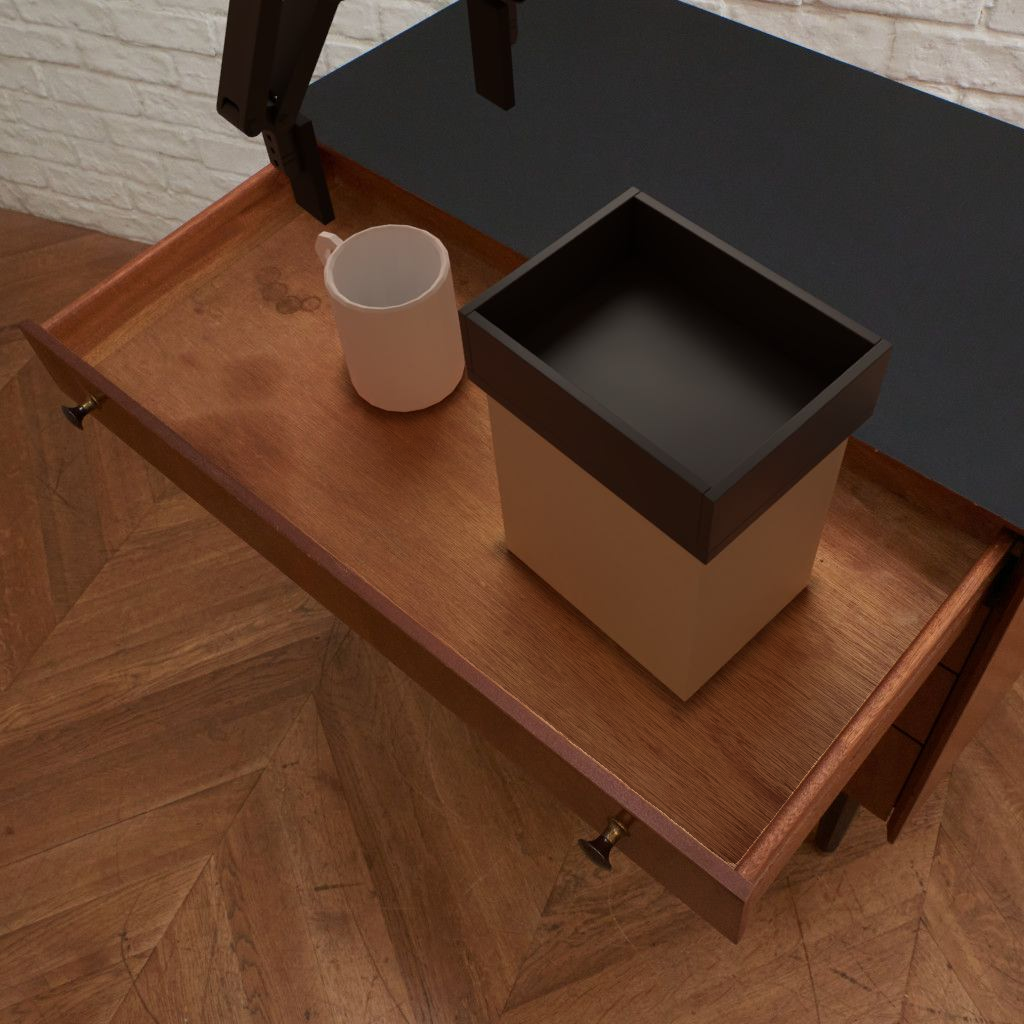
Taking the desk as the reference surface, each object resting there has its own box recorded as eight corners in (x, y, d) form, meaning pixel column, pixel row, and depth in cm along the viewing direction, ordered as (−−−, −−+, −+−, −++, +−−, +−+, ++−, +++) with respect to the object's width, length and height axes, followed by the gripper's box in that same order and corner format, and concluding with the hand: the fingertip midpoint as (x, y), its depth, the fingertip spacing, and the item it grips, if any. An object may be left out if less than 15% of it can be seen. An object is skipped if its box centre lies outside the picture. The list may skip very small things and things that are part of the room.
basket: (873, 415, 56) (894, 344, 52) (705, 566, 52) (714, 503, 48) (631, 258, 63) (633, 185, 59) (467, 379, 59) (456, 310, 55)
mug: (376, 286, 86) (353, 180, 78) (488, 365, 81) (475, 260, 73) (293, 345, 83) (260, 242, 75) (403, 431, 78) (380, 330, 70)
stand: (808, 584, 69) (855, 415, 56) (684, 702, 65) (704, 550, 52) (627, 448, 76) (631, 268, 63) (506, 547, 72) (483, 379, 59)
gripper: (497, -369, 55) (522, 32, 73) (42, -171, 46) (194, 230, 64) (609, -329, 52) (606, 81, 69) (140, -108, 43) (273, 297, 61)
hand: (408, 153), depth 67 cm, fingers open, 13 cm apart
